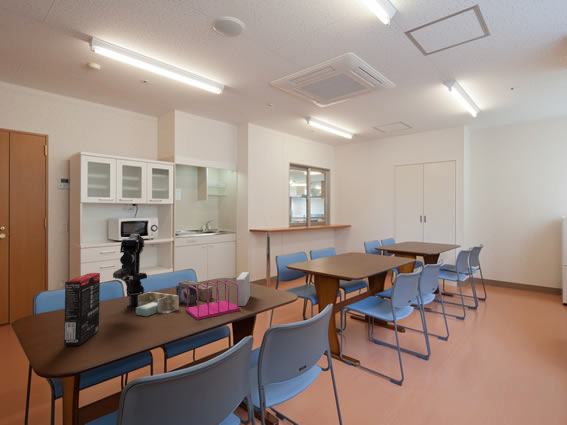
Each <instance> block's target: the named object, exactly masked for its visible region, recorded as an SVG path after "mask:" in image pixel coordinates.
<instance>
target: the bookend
mask: <svg viewBox="0 0 567 425" xmlns="http://www.w3.org/2000/svg"><path fill="white" fill-rule="evenodd" d="M175 311H177V310H176V309H171V308H168V297H167V296H166V297H164V298H161V299H158V300H157V313H159V314H165V315H169V314H171V313H172V312H175Z"/></svg>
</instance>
